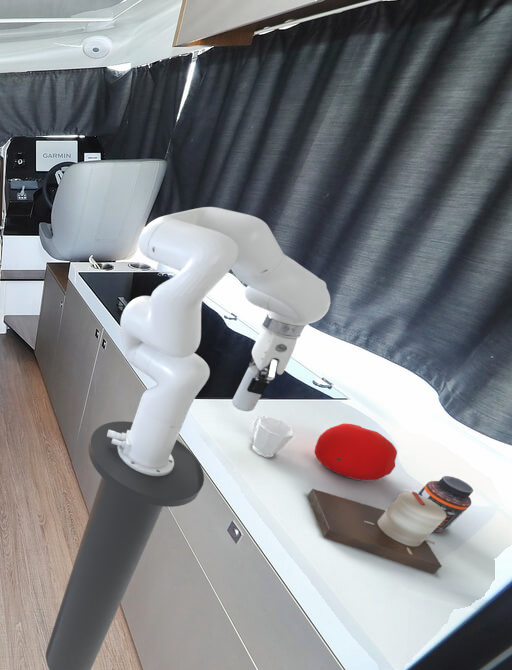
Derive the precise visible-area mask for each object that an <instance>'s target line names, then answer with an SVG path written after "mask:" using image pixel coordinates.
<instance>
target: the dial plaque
mask: <svg viewBox="0 0 512 670" xmlns="http://www.w3.org/2000/svg"><path fill="white" fill-rule="evenodd" d="M307 498H308V499H307V500H308V502H309V504H310V507H311V510H312V511H313V514H314V517H315V519H316V522H317V524H318V527H319V530H320V532H321V535H322V537H323V538H324V539H327V540H330V541H333V542H336V543H339V544H342V545H345V546H347V547H348V546H349V547H351V548H354V549H357V550H360V551H362V552H366V553H369V554H372V555H375V556H377V557H378V556H379V557H381V558H384V559H387V560H390V561H393V562H397V563H399V564H402V565H405V566H408V567H411V568H414V569H416V570H420V571H423V572H426V573H429V574H433V575H434V574H436V573H437V571H439V570H440V569H441V568H442V566H443V565H442V564H441V562H440V561H439V559H438V558H437V556H436V554H435V553H434V551H433V550H432V548H431V546H430V545H429V544H432V545H436V543H435V541H432V540H428V539H425V540H424V541H423V543H422V544H421V545H420V546H415V547H414V546H408V545H405V544H402V543H400V542H398V541H396V540H394V539H392V538H391V537H389V536H388V535H387V534H385V533H384V532H383V531H382V530H381V529H380V527H379V526H378V520H379V519H380V517H381V516H382V515H383V514H384V513H385V511H386V510H387V509H386V510H385V509H382V508H379V507H376V506H372V505H370V504H365V503H362V502H359V501H355V500H352V499H348V498H345V497H342V496H338V495H335V494H332V493H328V492H325V491H321V490H319V489H315V488H312V489H311V490H310V492H309V493H308V495H307Z"/></svg>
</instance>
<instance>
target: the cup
mask: <svg viewBox="0 0 512 670" xmlns="http://www.w3.org/2000/svg"><path fill="white" fill-rule="evenodd" d="M251 427H252V429H251V430H252V436H253V444H252V451H253V452H255V453H256V454H257V455H259V456H261V457H265V458H273V457H274V454H277V453H278V452H279V451H280V450H282V449H283V448H284V447H285V446H286V445H287V444H288V442H289V441H290V440H292V438H293V437H294V436H295V434H294V429H293V428H292V427H291V426H289V424H287V423H285V422H284V421H283V420H279V419H276V418H272V417H269V416H264V415H258V416H256V418H255V419H254V421H253V422H252V426H251Z"/></svg>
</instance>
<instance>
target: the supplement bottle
mask: <svg viewBox="0 0 512 670" xmlns="http://www.w3.org/2000/svg"><path fill="white" fill-rule="evenodd" d="M473 492H474V489H473V487H472V486H471V485H470V484H468V483H467V482H465V481H464V480H461V479H460V478H457V477H454V476H450V475H443V476H442V477H441V479H439V480H431V481H429V482H427V483H426V484H425V485H424V486H423V487H422V488H421V489H420V491H418V492H417V494H418V495H421V496H423V497H426V498H428V499H429V500H431V501H433V502H434V503H436V504H437V505H439V506H440V507H441V508H442V509H443V510H444V511H445V513H446V518H445V519H444V520H443V521H442V523H441V524H440V525H439V526H438V527H437V528H436V529H435V530H434V531H433V532H435V533H442V532H445V531H447V529H448V528H450V526H452V524H453V523H455V521H456V520H458V519H459V518H460V516H462V515H463V514H464V513H465V512H466V511H467V510H468V509H469V508H470V507H471V505H472V499H471V497H470V496H471V494H473Z"/></svg>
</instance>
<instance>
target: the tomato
mask: <svg viewBox="0 0 512 670" xmlns="http://www.w3.org/2000/svg"><path fill="white" fill-rule="evenodd" d="M314 455H315V458H316V459H317V460H318V462H319V463H321V465H322V466H324V467H326V468H327V469H328V470H331V471H332V472H334V473H336V474H338V475H341V476H343V477H346V478H349V479H353V480H358V481H377V480H380V479H383V478H384V477H386V476H389V475H390V474H391V473H392V472H393V471H394V470H395V468H396V459H397V455H398V450H397V448H396V447H395V445H394V444H393V442H391V441H390V440H389V439H387V438H386V437H385V436H383V435H382V434H381V433H379V432H378V431H375V430H372V429H368V428H365V427H362V426H361V425H358V424H353V423H340V424H337V425H335V426H331V427H329V428H327V429H326V430H325V431H323V432H322V433H321V434H320V435H319V437H318V439H317V441H316V443H315V448H314Z"/></svg>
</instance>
